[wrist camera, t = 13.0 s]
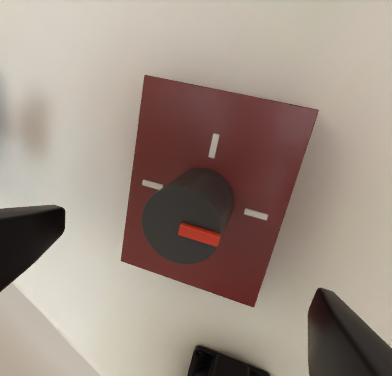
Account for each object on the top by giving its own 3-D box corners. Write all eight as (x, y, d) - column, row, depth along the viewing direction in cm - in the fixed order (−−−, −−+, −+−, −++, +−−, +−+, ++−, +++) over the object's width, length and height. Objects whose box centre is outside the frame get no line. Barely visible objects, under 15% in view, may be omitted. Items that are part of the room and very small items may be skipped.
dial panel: (256, 285, 21) (253, 309, 18) (136, 245, 22) (119, 262, 20) (312, 110, 17) (319, 109, 14) (160, 79, 18) (142, 74, 16)
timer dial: (167, 218, 18) (133, 253, 14) (178, 160, 17) (144, 178, 12) (225, 236, 17) (210, 278, 13) (241, 176, 16) (229, 201, 12)
